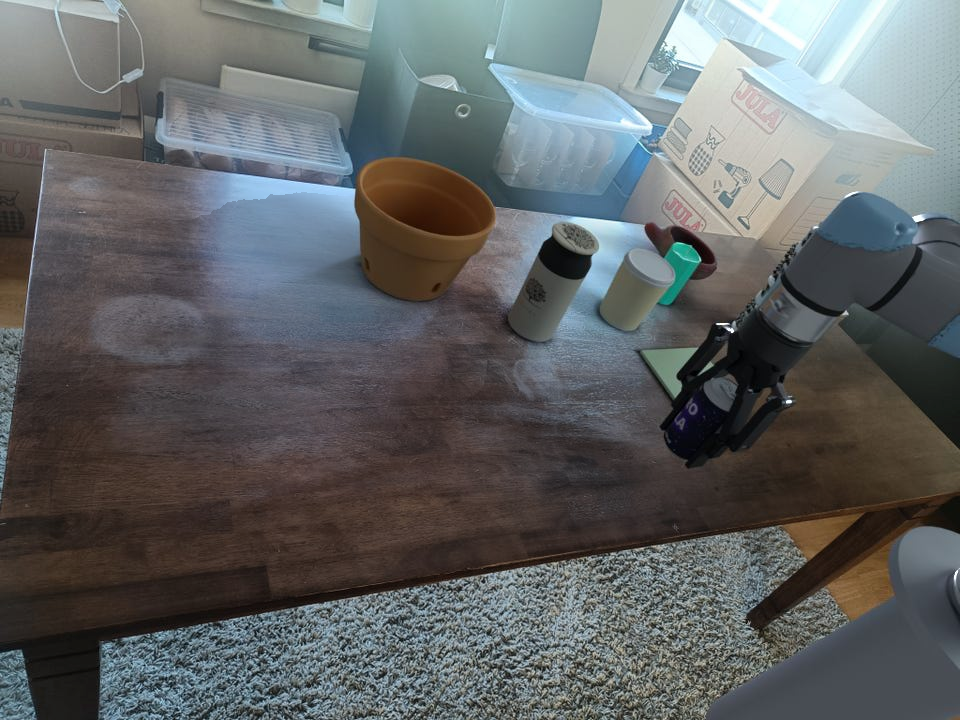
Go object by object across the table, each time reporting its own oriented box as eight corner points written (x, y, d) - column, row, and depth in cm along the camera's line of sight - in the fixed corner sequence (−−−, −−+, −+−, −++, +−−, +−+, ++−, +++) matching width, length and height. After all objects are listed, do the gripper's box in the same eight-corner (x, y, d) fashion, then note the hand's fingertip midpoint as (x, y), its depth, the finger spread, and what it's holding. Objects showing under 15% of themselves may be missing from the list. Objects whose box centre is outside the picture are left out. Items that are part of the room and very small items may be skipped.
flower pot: (314, 243, 99) (329, 159, 90) (418, 225, 113) (441, 150, 103) (388, 330, 91) (413, 248, 81) (491, 300, 104) (523, 226, 95)
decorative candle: (740, 314, 129) (823, 212, 113) (778, 343, 126) (868, 242, 109) (721, 327, 123) (806, 221, 107) (760, 358, 120) (853, 253, 103)
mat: (743, 408, 106) (746, 406, 106) (684, 416, 100) (686, 413, 99) (697, 349, 114) (699, 347, 114) (639, 352, 108) (641, 350, 107)
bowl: (681, 252, 140) (701, 222, 135) (714, 290, 133) (736, 260, 128) (626, 249, 133) (644, 217, 127) (657, 289, 125) (679, 257, 120)
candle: (648, 280, 126) (680, 231, 119) (675, 296, 126) (708, 247, 118) (641, 293, 122) (673, 243, 114) (668, 309, 121) (703, 260, 113)
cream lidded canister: (647, 317, 116) (681, 267, 108) (634, 342, 109) (670, 290, 102) (603, 292, 118) (634, 240, 110) (588, 314, 111) (620, 261, 103)
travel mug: (538, 308, 107) (584, 220, 95) (561, 341, 103) (611, 253, 91) (499, 310, 103) (541, 219, 91) (520, 345, 99) (568, 253, 87)
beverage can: (684, 430, 89) (732, 373, 82) (705, 463, 86) (757, 406, 78) (653, 432, 87) (699, 373, 79) (673, 465, 83) (723, 407, 76)
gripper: (715, 269, 75) (625, 396, 90) (822, 386, 64) (699, 509, 79) (757, 270, 78) (664, 392, 93) (865, 381, 67) (740, 499, 82)
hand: (680, 445), depth 86 cm, fingers closed on beverage can, 6 cm apart
